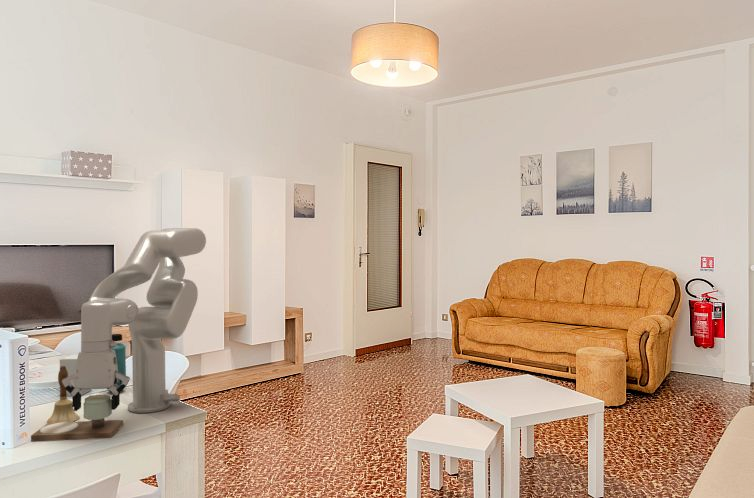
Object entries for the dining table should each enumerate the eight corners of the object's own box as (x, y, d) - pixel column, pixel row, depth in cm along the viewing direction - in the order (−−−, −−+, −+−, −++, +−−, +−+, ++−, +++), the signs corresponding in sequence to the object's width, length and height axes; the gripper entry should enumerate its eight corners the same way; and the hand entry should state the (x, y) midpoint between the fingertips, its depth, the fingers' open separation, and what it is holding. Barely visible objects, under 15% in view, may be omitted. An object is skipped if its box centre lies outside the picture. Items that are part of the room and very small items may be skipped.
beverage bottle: (113, 388, 196) (112, 332, 195) (130, 389, 195) (129, 332, 194) (101, 394, 189) (100, 335, 189) (119, 395, 188) (118, 336, 188)
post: (106, 424, 155) (105, 399, 155) (102, 428, 152) (101, 402, 152) (94, 424, 155) (93, 399, 155) (89, 428, 152) (89, 403, 151)
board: (123, 424, 159) (123, 419, 159) (111, 437, 149) (110, 431, 149) (48, 428, 157) (48, 422, 156) (31, 441, 147) (30, 434, 147)
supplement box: (81, 396, 187) (80, 359, 186) (59, 396, 187) (58, 359, 186) (92, 390, 194) (92, 354, 194) (71, 390, 194) (70, 354, 194)
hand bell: (86, 416, 166) (85, 363, 166) (64, 426, 158) (63, 370, 158) (62, 414, 168) (62, 362, 168) (40, 423, 160) (39, 368, 160)
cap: (114, 411, 157) (113, 391, 157) (106, 419, 151) (105, 398, 150) (90, 412, 156) (89, 392, 156) (80, 420, 150) (80, 399, 150)
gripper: (133, 343, 157) (133, 404, 158) (68, 344, 155) (68, 406, 155) (125, 348, 150) (124, 412, 150) (56, 349, 148) (56, 414, 148)
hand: (96, 409), depth 153 cm, fingers open, 9 cm apart
